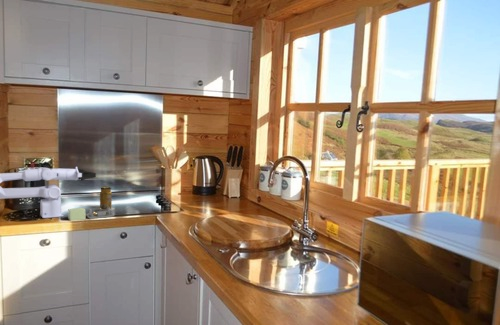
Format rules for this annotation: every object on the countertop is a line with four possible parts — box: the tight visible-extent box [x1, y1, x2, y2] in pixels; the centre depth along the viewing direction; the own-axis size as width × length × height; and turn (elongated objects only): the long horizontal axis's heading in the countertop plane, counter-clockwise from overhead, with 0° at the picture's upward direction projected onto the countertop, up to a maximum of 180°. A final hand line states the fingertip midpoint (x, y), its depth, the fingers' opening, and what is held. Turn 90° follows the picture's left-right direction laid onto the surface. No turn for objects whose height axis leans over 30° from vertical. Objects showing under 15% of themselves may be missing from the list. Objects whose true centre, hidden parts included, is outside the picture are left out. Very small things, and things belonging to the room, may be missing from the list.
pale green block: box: [67, 207, 87, 222], centre depth 205 cm, size 7×4×5 cm, turn 126°
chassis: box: [86, 207, 115, 220], centre depth 214 cm, size 12×9×4 cm
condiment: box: [96, 186, 115, 211], centre depth 231 cm, size 7×8×12 cm
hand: (94, 174), depth 218 cm, fingers open, 7 cm apart
